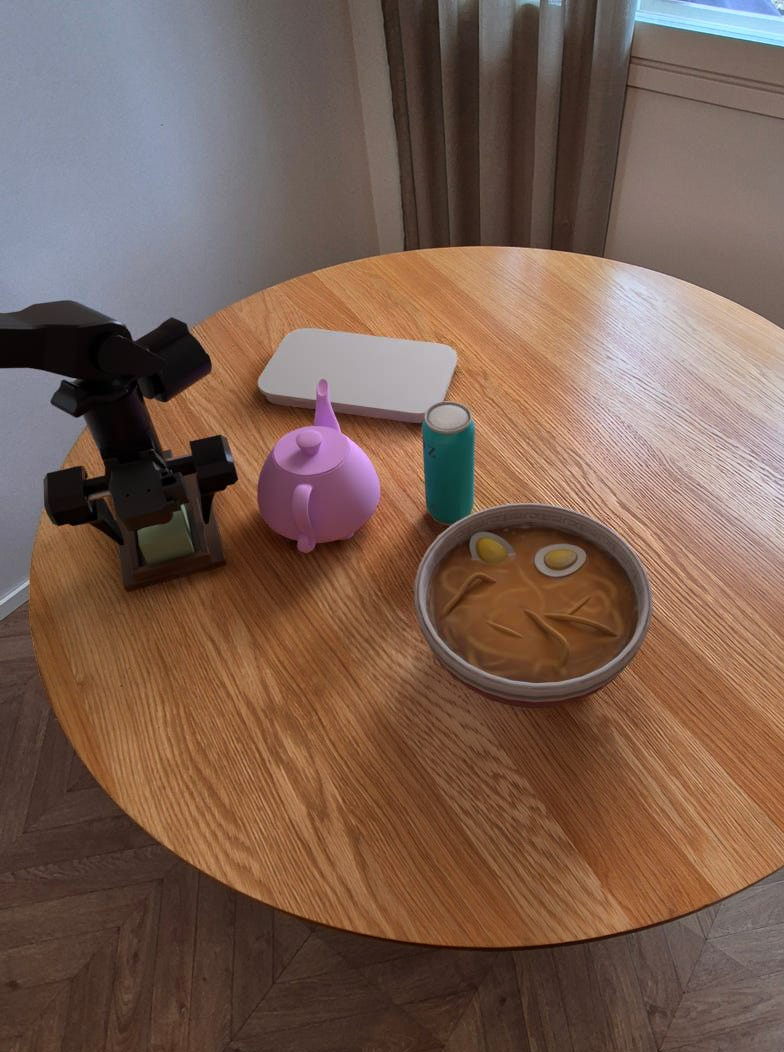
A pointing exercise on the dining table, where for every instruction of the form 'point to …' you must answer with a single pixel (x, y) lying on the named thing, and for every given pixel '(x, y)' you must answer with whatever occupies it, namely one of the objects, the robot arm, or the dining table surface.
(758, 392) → the dining table surface
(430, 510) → the beverage can
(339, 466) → the teapot
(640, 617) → the bowl
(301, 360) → the tablet
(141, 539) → the pad
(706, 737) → the dining table surface
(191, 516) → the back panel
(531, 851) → the dining table surface
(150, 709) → the dining table surface
